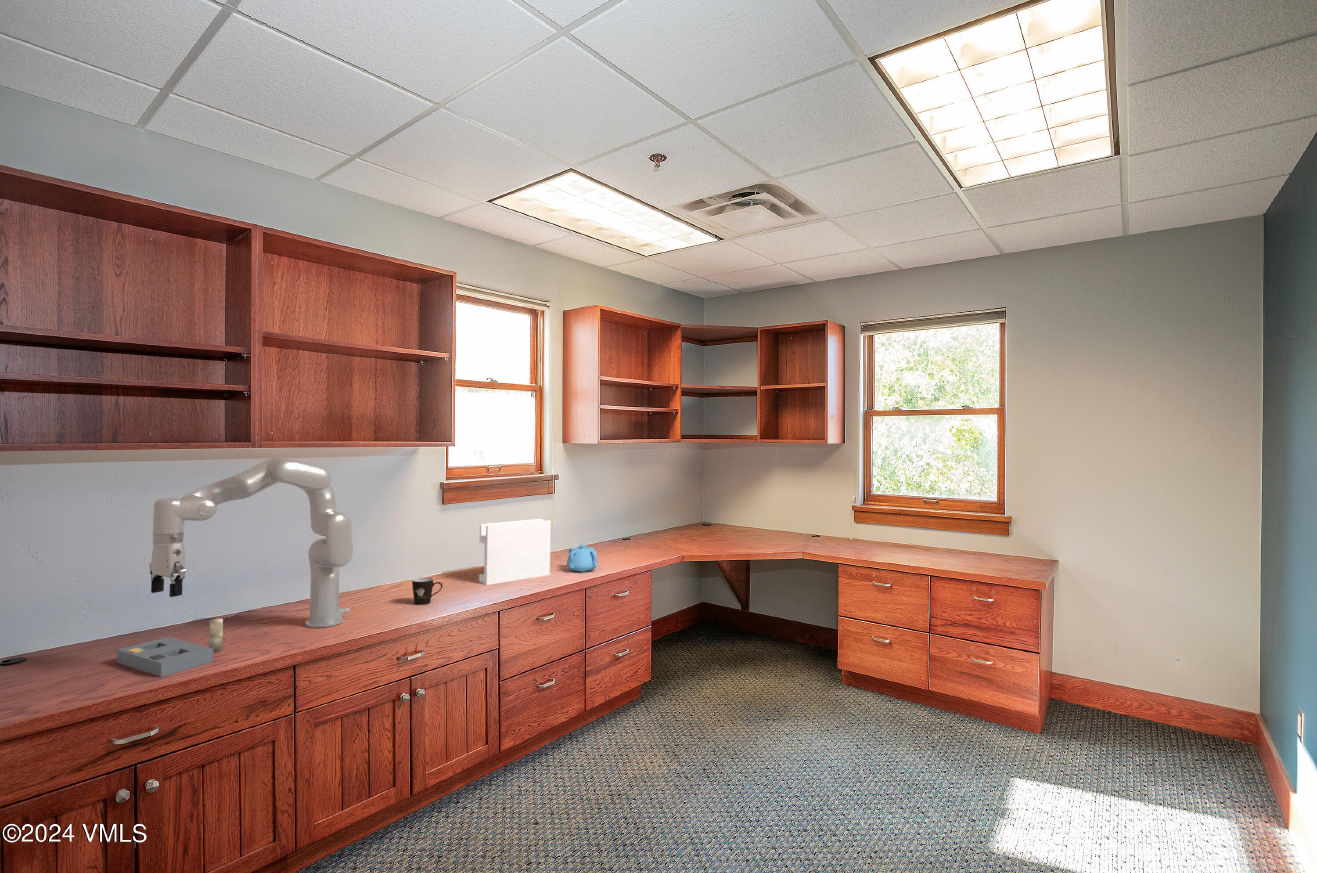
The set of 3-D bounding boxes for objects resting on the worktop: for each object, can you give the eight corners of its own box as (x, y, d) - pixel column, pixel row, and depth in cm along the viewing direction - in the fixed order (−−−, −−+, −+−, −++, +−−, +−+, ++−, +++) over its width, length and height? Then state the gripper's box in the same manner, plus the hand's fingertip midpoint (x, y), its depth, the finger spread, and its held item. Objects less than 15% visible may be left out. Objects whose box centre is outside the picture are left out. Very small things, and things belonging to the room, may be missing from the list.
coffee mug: (406, 604, 262) (407, 580, 262) (420, 599, 270) (421, 576, 270) (429, 607, 258) (430, 583, 258) (443, 602, 266) (443, 578, 266)
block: (486, 585, 298) (487, 526, 297) (478, 581, 304) (479, 524, 303) (549, 574, 321) (550, 520, 321) (541, 572, 327) (542, 518, 327)
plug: (218, 648, 206) (218, 617, 206) (224, 650, 205) (225, 619, 205) (206, 651, 203) (206, 620, 203) (213, 653, 202) (213, 622, 202)
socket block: (168, 648, 205) (168, 635, 205) (212, 661, 195) (212, 647, 195) (116, 662, 192) (116, 648, 192) (161, 676, 182) (161, 662, 182)
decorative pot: (597, 573, 326) (598, 547, 326) (566, 573, 324) (566, 547, 324) (597, 567, 342) (597, 542, 342) (567, 567, 340) (568, 542, 340)
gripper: (198, 539, 193) (196, 595, 193) (165, 534, 200) (164, 588, 200) (170, 542, 186) (169, 600, 186) (138, 537, 194) (136, 593, 193)
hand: (166, 594), depth 193 cm, fingers open, 9 cm apart
